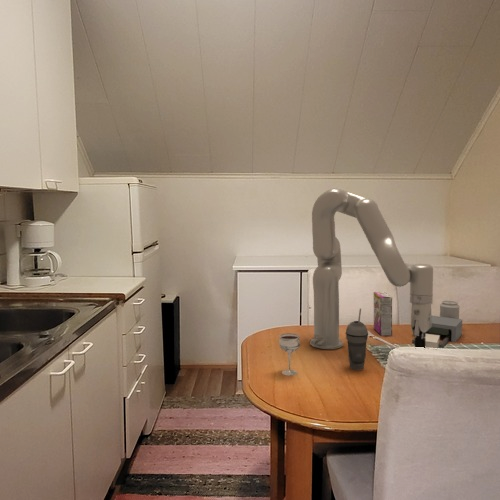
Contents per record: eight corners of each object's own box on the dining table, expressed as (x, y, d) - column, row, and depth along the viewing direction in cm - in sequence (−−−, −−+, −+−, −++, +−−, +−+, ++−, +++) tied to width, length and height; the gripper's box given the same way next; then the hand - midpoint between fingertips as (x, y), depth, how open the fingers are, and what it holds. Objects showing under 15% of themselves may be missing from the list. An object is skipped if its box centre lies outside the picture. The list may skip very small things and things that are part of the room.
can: (440, 330, 177) (441, 303, 176) (438, 326, 184) (439, 299, 183) (460, 332, 175) (461, 304, 174) (457, 327, 182) (457, 300, 181)
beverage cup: (351, 362, 143) (351, 304, 141) (371, 366, 138) (372, 307, 137) (341, 368, 137) (341, 308, 136) (362, 373, 133) (362, 311, 131)
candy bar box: (372, 328, 183) (373, 291, 181) (384, 328, 183) (384, 291, 181) (380, 336, 172) (380, 296, 170) (392, 336, 171) (392, 296, 170)
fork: (396, 351, 155) (396, 346, 155) (362, 335, 174) (362, 331, 174) (403, 350, 157) (403, 345, 156) (369, 334, 175) (369, 330, 175)
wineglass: (274, 372, 135) (274, 336, 134) (288, 367, 140) (288, 331, 139) (291, 378, 130) (290, 340, 129) (304, 372, 135) (304, 336, 134)
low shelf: (449, 349, 154) (450, 332, 153) (405, 341, 164) (405, 326, 163) (461, 334, 172) (462, 319, 171) (421, 328, 181) (421, 314, 181)
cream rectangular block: (436, 350, 154) (437, 342, 154) (416, 347, 158) (416, 340, 157) (439, 342, 163) (439, 335, 163) (420, 340, 166) (420, 333, 166)
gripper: (426, 303, 141) (425, 356, 143) (437, 296, 153) (436, 345, 155) (403, 301, 146) (403, 352, 147) (416, 294, 158) (415, 341, 159)
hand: (420, 348), depth 151 cm, fingers closed
